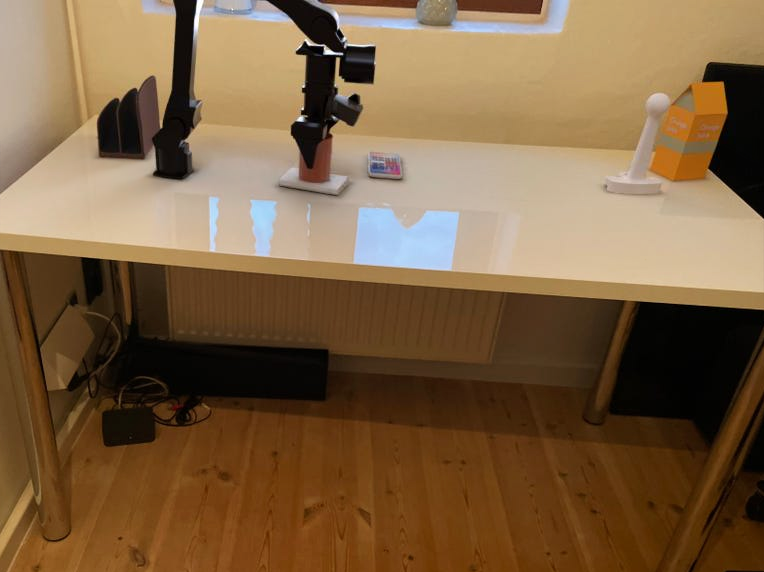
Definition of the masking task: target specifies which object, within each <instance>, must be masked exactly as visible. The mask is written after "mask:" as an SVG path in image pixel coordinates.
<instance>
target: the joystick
mask: <svg viewBox="0 0 764 572" xmlns="http://www.w3.org/2000/svg"><path fill="white" fill-rule="evenodd" d="M670 105H671V98H670V97H669V96H668V95H667V94H666V93H663V92H657V93H654V94H652V95H651V96H649V97H648V98H647V100H646V102H645V110H646V113H647V117H646V121H645V123H644V127H643V129H642V132H641V134H640V137H639V140H638V143H637V147H636V149H635V152H634V155H633V158H632V160H631V162H630V163H631V164H630V165H629V169H628V171H619V172H618V174H617V176H611V175H606V176H605V178H604V182H603V186H606V191H607V192H609V193H615V194H616V193H617V194H624V195H625V194H626V195H657V194H660V191H661V188H662V185H663V181H661V180H660V179H658V178H657V177H655V176H649V177H647V173H648V169H649V165H650V161H651V157H652V152H653V149H654V145H655V140H656V137H657V132H658V128H659V125H660V121H661V118H662V117H663V116H664V115H665V114H666V113H668V111H669V108H670Z"/></svg>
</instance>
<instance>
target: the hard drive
mask: <svg viewBox="0 0 764 572" xmlns="http://www.w3.org/2000/svg"><path fill="white" fill-rule="evenodd" d="M349 183H350V177H349V176H345V175H341V174H334V173H331V175H330V179H329V180H328V181H326V182H320V183H313V182H306V181H303V180H301V179H300V178H299V177H298V167H290V168H289V169H288V170H287V171H285V173H284V174H283V175H281V176H280V177H279V178H278V186H280V187H285V188H292V189H297V190H304V191H309V192H316V193H322V194H327V195H333V196H339V195H340V194H341V192H342V191H343V190H344V189H345V188H346V187H347V185H348V184H349Z"/></svg>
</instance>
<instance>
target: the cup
mask: <svg viewBox="0 0 764 572" xmlns="http://www.w3.org/2000/svg"><path fill="white" fill-rule="evenodd" d="M333 146H334V135H333V134H332V133H331V132H330V133H328V132H326V138H325V139H324V140H323V141H322V142H321V143H319V144H318V148H317V153H316V157H315V162H314V166H313V169H307V167H306V164H305V162H304V159H303V157H302V154H301V152H300V150H299V149H298V165H297V166H298V167H297V168H298V177H299V178H300V179H301V180H303V181H306V182H313V183H320V182H326V181H328V180H329V179H330V175H331V174H332V163H333V162H332V161H333Z"/></svg>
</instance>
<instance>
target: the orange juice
mask: <svg viewBox="0 0 764 572" xmlns="http://www.w3.org/2000/svg"><path fill="white" fill-rule="evenodd" d="M728 113H729V112H728V105H727V98H726V90H725V83H724V81H705V82H704V81H703V82H691V83H690V84H689V85H688V86H687V88H686V89H685V90H684V91H683V92H682V93H681V94H680V95H679V96H678V97H677V98H676V99H675V100H674V101H673V102H672V104H671V103H670V107H669V109H668V111H667V115H666V118H665V121H664V123H663V127H662V130H661V133H660V136H659V139H658V142H657V147H656V149H655V153H654V156H653V160H652V162H651V165H650V169H649V170H650V171H651V172H654V173H655V174H658V175H660V176H662V177H664V178H666V179H668V180H670V181H672V182H678V181H679V182H680V181H691V180H702V179H705V178H706V174H707V172H708V170H709V166H710V164H711V160H712V158H713V155H714V153H715V151H716V148H717V144H718V142H719V139H720V136H721V132H722V130H723V127H724V124H725V122H726V120H727V116H728Z"/></svg>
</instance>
